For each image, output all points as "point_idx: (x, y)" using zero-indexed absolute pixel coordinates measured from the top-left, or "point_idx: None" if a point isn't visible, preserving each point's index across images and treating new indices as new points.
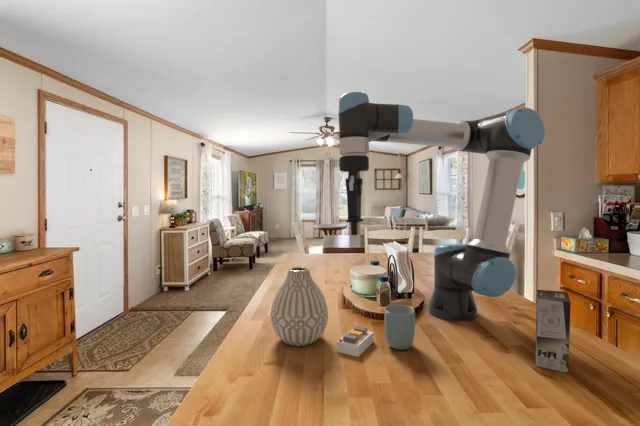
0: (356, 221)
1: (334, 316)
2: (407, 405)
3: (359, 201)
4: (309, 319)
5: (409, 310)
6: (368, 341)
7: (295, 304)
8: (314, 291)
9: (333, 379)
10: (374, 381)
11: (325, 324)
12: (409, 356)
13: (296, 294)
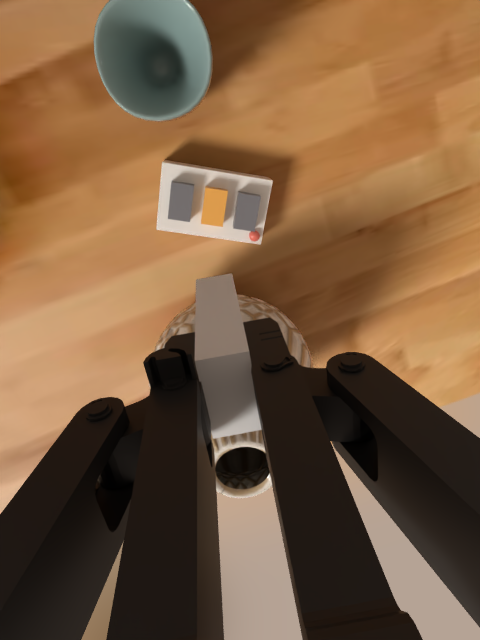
0: (304, 369)
1: (39, 324)
2: (452, 2)
3: (189, 544)
4: (294, 328)
5: (115, 17)
6: (201, 167)
7: None
8: None
9: (383, 198)
10: (371, 104)
11: None
12: (217, 30)
13: None
